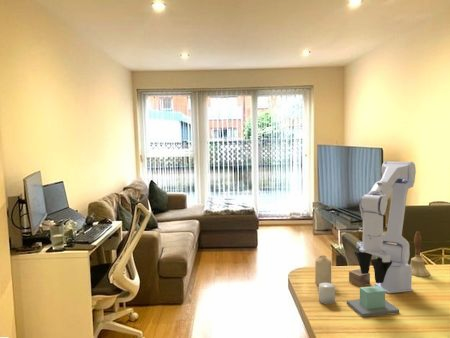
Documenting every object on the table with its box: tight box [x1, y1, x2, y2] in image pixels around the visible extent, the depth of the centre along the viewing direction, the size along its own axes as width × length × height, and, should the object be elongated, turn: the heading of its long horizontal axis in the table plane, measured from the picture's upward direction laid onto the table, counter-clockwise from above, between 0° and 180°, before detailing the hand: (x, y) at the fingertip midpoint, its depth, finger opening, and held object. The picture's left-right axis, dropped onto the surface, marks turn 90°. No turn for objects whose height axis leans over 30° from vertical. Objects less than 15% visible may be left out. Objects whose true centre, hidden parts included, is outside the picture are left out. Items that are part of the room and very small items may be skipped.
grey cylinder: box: [318, 282, 336, 305], centre depth 118 cm, size 5×5×5 cm
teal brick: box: [359, 285, 386, 309], centre depth 112 cm, size 6×4×5 cm, turn 101°
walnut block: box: [348, 268, 371, 287], centre depth 132 cm, size 5×5×4 cm
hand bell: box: [409, 231, 430, 277], centre depth 140 cm, size 8×8×16 cm
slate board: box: [346, 298, 400, 318], centre depth 112 cm, size 12×9×1 cm
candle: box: [314, 255, 332, 286], centre depth 131 cm, size 6×6×10 cm
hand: (372, 277), depth 112 cm, fingers open, 7 cm apart
